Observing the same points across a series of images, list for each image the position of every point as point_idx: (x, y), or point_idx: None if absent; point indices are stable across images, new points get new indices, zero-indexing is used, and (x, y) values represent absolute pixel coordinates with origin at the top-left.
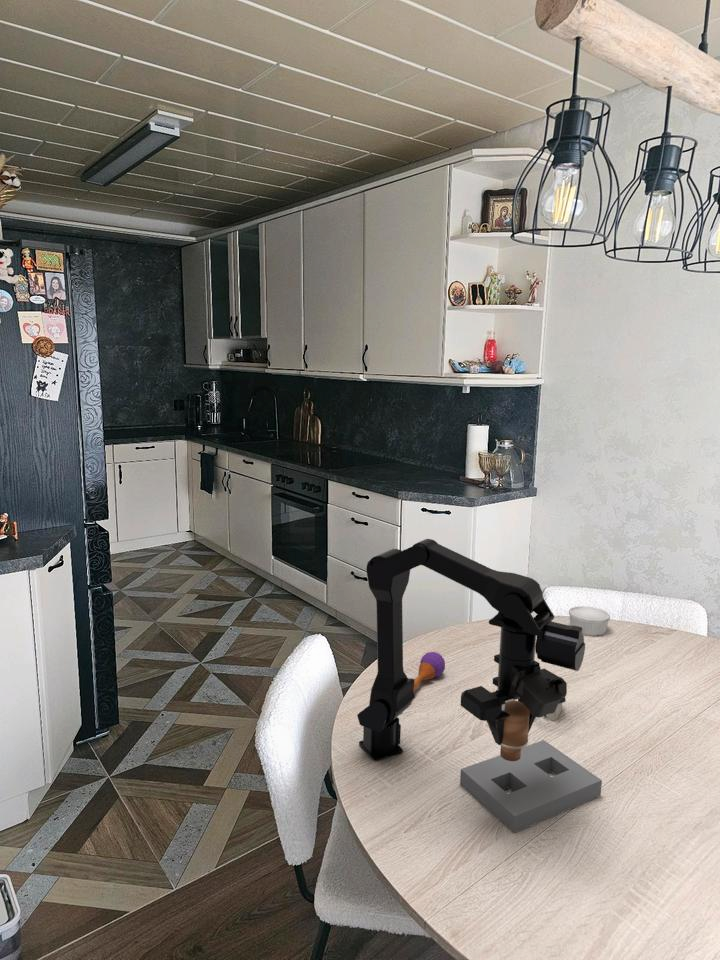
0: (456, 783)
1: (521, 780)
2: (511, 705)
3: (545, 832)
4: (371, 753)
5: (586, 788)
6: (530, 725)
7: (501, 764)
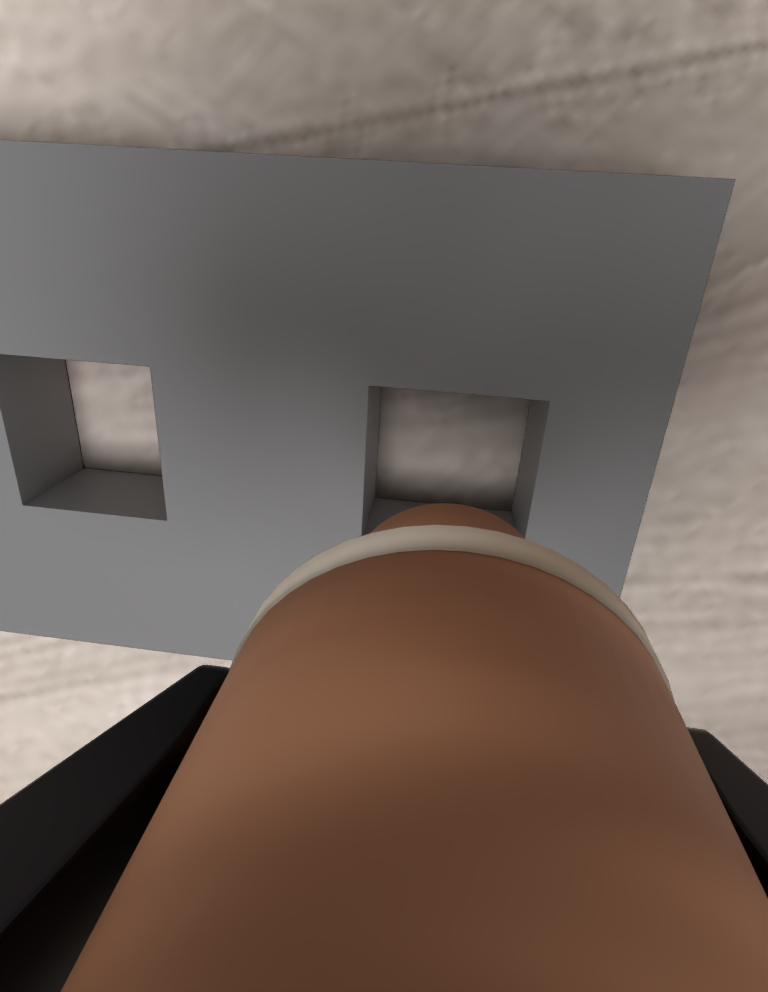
0: None
1: (357, 449)
2: None
3: (503, 72)
4: None
5: None
6: (89, 777)
7: None
